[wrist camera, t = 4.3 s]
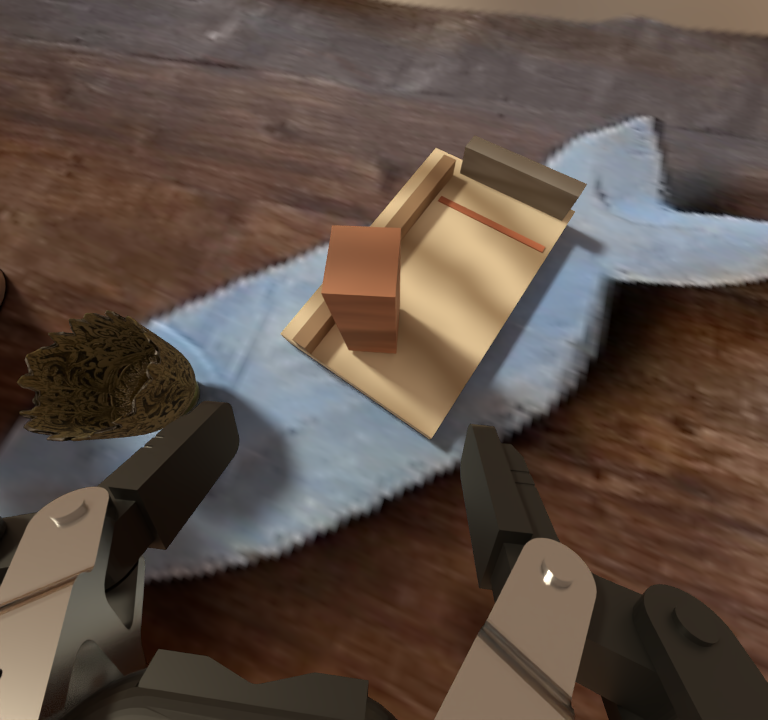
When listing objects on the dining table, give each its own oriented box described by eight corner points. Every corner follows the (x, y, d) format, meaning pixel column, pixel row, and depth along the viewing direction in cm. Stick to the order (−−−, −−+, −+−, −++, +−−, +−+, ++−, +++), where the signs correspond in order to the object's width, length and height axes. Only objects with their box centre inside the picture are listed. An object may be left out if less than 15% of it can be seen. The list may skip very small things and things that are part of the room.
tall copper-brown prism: (396, 353, 22) (395, 297, 14) (348, 350, 23) (320, 293, 15) (400, 297, 24) (402, 216, 16) (355, 295, 24) (333, 214, 16)
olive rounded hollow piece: (132, 369, 25) (15, 332, 17) (219, 341, 25) (142, 293, 18) (139, 458, 23) (9, 461, 15) (234, 426, 23) (153, 413, 16)
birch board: (429, 439, 22) (436, 436, 18) (287, 340, 25) (267, 320, 21) (565, 224, 27) (593, 186, 23) (434, 162, 30) (439, 120, 26)
